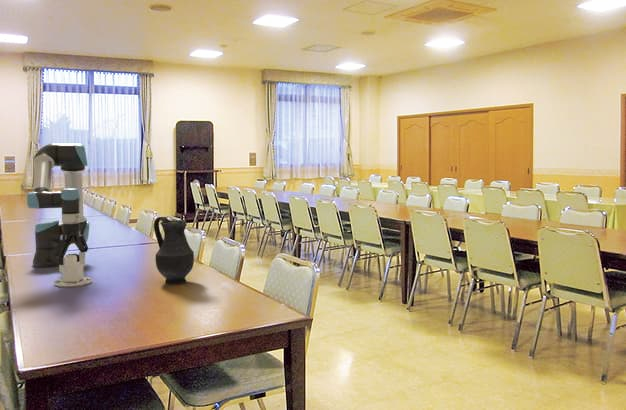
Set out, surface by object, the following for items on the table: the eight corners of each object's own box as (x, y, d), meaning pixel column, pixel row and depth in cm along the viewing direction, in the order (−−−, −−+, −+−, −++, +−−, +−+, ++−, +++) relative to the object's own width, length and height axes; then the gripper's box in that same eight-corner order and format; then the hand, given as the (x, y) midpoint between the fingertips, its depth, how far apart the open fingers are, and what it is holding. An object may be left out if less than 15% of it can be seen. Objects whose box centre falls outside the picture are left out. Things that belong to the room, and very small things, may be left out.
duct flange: (46, 286, 259) (45, 282, 259) (69, 278, 275) (69, 275, 275) (76, 288, 255) (76, 284, 255) (99, 280, 271) (99, 277, 271)
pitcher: (175, 288, 256) (173, 220, 253) (142, 282, 267) (140, 217, 264) (202, 281, 271) (201, 217, 268) (170, 275, 282) (168, 214, 279)
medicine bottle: (68, 278, 268) (67, 253, 267) (83, 278, 269) (82, 253, 268) (62, 282, 261) (61, 255, 260) (78, 282, 262) (77, 255, 261)
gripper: (59, 226, 250) (61, 275, 252) (95, 219, 274) (96, 264, 276) (44, 225, 251) (46, 274, 254) (81, 219, 275) (82, 263, 278)
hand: (72, 268), depth 265 cm, fingers open, 13 cm apart
